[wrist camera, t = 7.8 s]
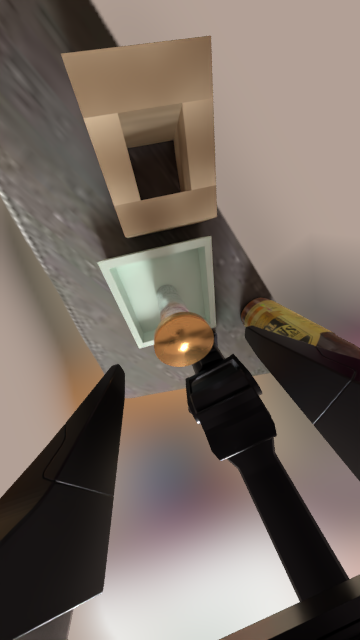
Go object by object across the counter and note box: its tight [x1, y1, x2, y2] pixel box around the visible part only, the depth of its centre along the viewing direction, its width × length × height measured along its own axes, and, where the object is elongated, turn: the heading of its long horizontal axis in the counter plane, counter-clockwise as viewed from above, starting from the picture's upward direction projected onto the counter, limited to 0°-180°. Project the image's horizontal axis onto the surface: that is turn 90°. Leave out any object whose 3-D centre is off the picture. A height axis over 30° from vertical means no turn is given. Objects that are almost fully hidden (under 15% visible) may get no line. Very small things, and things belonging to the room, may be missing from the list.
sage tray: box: [97, 236, 216, 349], centre depth 18 cm, size 12×12×4 cm
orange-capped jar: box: [154, 284, 214, 367], centre depth 14 cm, size 4×4×11 cm
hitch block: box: [61, 36, 217, 238], centre depth 12 cm, size 9×9×4 cm
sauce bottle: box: [241, 298, 360, 359], centre depth 17 cm, size 6×6×20 cm
